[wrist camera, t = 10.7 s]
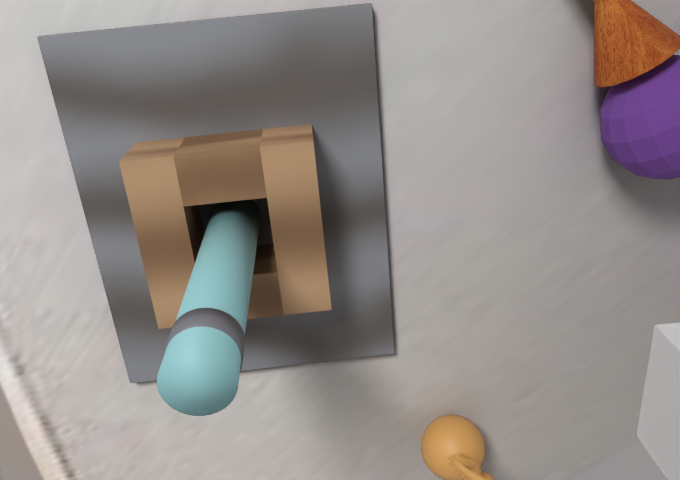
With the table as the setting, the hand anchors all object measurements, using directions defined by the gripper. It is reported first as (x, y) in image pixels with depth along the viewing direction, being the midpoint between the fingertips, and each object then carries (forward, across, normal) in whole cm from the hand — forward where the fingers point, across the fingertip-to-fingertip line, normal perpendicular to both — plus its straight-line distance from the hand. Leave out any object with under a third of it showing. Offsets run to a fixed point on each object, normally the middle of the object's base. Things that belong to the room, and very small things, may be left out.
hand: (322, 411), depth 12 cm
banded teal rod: (+22, -4, -5) cm, 23 cm away
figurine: (+23, +8, -20) cm, 32 cm away
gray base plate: (+23, -4, -5) cm, 24 cm away
